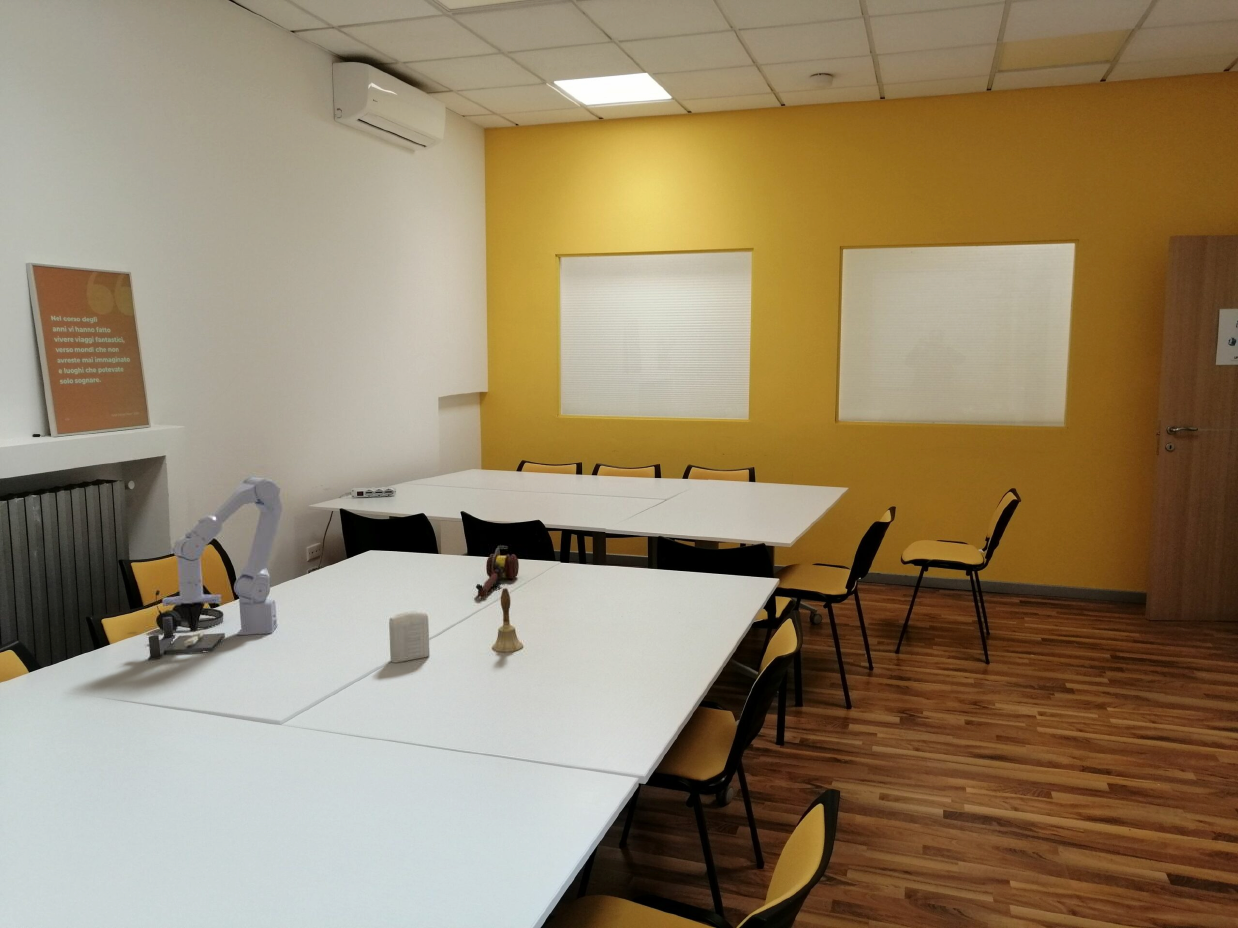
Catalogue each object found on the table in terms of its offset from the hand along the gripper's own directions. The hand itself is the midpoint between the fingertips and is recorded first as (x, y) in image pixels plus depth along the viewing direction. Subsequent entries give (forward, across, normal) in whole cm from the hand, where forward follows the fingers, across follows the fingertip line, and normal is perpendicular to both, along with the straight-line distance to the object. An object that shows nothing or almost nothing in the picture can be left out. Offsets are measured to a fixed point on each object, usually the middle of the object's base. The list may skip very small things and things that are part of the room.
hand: (194, 629), depth 251 cm
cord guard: (+5, -8, 0) cm, 10 cm away
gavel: (+5, +82, +48) cm, 95 cm away
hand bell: (+5, +84, -19) cm, 86 cm away
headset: (+5, -8, +23) cm, 25 cm away
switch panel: (+4, 0, 0) cm, 4 cm away
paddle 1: (+2, 0, -3) cm, 4 cm away
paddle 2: (+2, 0, +3) cm, 4 cm away
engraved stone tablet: (+5, +59, -23) cm, 63 cm away
